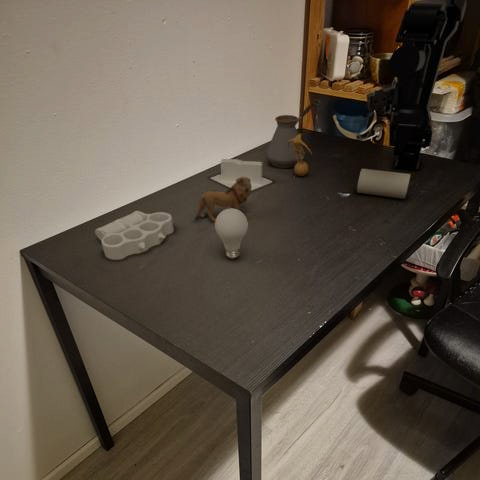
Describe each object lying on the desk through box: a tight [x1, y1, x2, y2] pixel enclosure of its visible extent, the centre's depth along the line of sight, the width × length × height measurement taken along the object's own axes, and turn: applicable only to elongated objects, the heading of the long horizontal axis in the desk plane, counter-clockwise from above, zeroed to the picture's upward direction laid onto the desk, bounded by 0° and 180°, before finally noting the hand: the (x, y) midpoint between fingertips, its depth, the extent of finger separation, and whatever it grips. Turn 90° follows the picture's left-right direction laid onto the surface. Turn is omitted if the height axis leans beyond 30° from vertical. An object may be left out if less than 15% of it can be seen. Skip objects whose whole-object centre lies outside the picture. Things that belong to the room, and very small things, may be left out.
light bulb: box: [214, 207, 249, 260], centre depth 86 cm, size 7×7×11 cm
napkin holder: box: [210, 158, 273, 192], centre depth 118 cm, size 15×11×6 cm
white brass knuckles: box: [94, 210, 175, 261], centre depth 95 cm, size 3×18×15 cm
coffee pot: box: [265, 98, 321, 169], centre depth 126 cm, size 21×12×15 cm, turn 139°
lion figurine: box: [194, 176, 252, 222], centre depth 101 cm, size 15×5×9 cm, turn 110°
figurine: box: [287, 133, 313, 177], centre depth 116 cm, size 8×6×12 cm
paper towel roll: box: [356, 168, 412, 200], centre depth 108 cm, size 6×12×6 cm, turn 69°
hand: (393, 150), depth 100 cm, fingers open, 9 cm apart
